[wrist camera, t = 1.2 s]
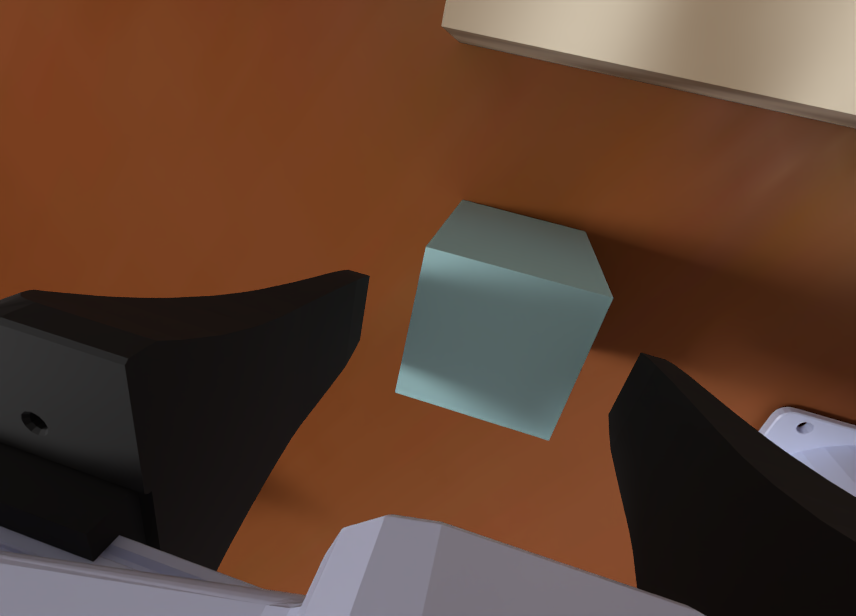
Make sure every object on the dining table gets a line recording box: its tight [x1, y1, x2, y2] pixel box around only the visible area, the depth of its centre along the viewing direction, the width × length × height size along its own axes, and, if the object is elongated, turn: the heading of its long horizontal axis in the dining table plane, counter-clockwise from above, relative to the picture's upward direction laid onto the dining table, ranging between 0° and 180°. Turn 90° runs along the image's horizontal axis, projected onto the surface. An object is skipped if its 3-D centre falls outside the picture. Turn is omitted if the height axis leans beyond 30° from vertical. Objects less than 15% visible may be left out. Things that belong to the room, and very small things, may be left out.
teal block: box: [395, 200, 613, 440], centre depth 14 cm, size 4×4×6 cm
